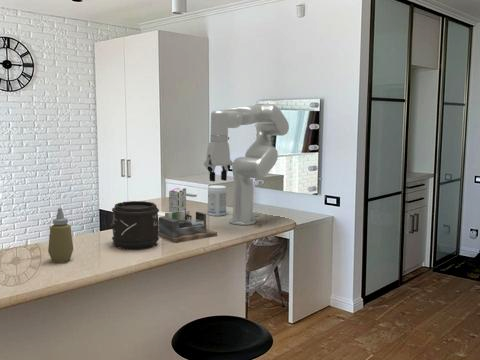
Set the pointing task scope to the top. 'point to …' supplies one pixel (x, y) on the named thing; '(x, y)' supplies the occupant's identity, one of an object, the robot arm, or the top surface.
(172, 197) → the candy bar box
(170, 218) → the force tester
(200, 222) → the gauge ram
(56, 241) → the squeeze bottle
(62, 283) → the top surface
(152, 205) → the black round canister
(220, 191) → the supplement tub
